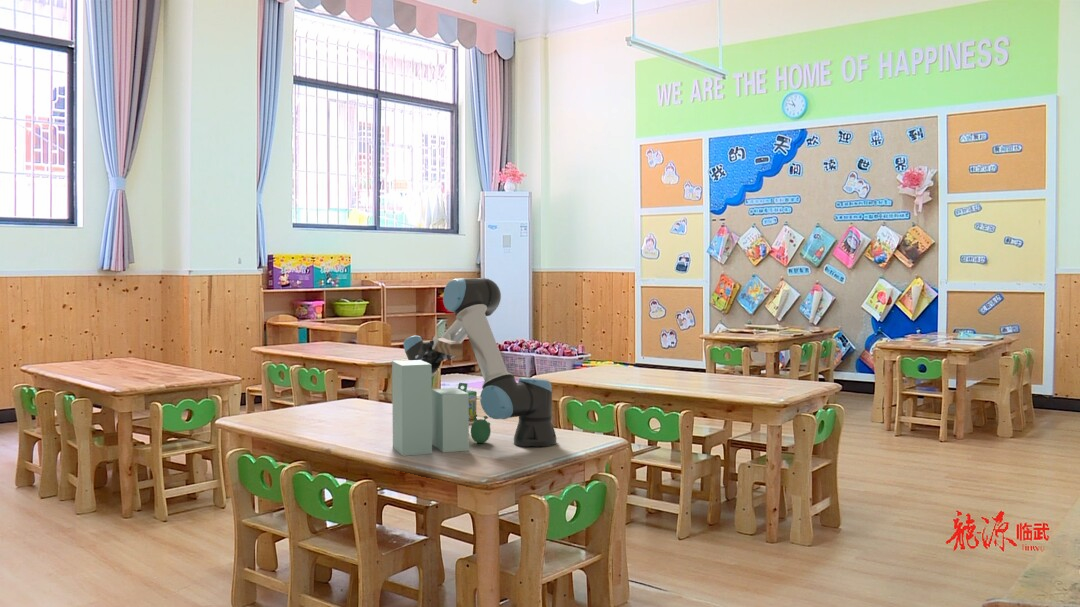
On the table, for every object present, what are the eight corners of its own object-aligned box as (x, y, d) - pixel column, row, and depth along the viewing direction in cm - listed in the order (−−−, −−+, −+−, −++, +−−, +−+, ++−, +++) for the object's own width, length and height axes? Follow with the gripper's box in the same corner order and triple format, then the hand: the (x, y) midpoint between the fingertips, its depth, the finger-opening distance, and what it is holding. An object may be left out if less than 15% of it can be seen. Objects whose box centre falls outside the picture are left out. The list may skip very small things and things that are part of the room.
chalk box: (445, 419, 363) (445, 383, 363) (461, 416, 370) (460, 381, 370) (461, 422, 357) (461, 385, 357) (477, 418, 365) (477, 383, 364)
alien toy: (494, 441, 317) (494, 413, 317) (485, 445, 310) (484, 417, 310) (477, 440, 320) (477, 412, 320) (467, 444, 313) (467, 415, 312)
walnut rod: (462, 355, 299) (462, 343, 298) (450, 356, 297) (450, 344, 297) (443, 349, 321) (443, 338, 321) (432, 349, 319) (432, 338, 319)
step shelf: (469, 450, 302) (468, 362, 300) (402, 455, 293) (401, 365, 292) (456, 442, 316) (456, 358, 315) (392, 447, 308) (391, 360, 306)
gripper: (452, 372, 334) (468, 346, 315) (407, 374, 328) (420, 348, 308) (449, 354, 337) (465, 327, 318) (405, 356, 331) (418, 328, 312)
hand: (443, 338), depth 313 cm, fingers closed on walnut rod, 4 cm apart
